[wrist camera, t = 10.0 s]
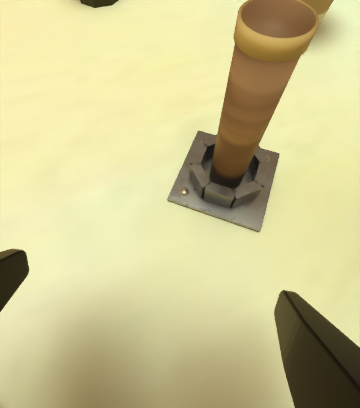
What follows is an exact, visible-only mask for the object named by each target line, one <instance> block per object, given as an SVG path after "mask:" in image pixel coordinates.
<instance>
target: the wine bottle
mask: <svg viewBox="0 0 360 408" xmlns="http://www.w3.org/2000/svg"><path fill="white" fill-rule="evenodd" d="M80 1H81V3H82V4H85V5H88V6H91V7H94V8H96V7H102V6H108V5H113V4H114V3H115V2H117V1H118V0H80Z"/></svg>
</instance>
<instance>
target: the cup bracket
mask: <svg viewBox="0 0 360 408" xmlns="http://www.w3.org/2000/svg"><path fill="white" fill-rule="evenodd" d="M216 139H217V135H212V134H209V133H205V132H202V131H198V132H197V134H196V137H195V139H194V141H193V143H192V146H191V148H190V150H189V152H188V154H187V157H186V159H185V161H184V163H183V166H182V168H181V170H180V172H179V174H178V177H177V179H176V181H175V183H174V185H173V188H172V190H171V192H170V194H169V197H168V199H167V200H168V201H170V202H173V203H176V204H179V205H182V206H185V207H188V208H191V209H193V210H196V211H199V212H202V213H205V214H208V215H211V216H214V217H217V218H220V219H222V220H225V221H228V222H231V223H234V224H237V225H240V226H243V227H246V228H248V229H251V230H254V231H257V232H260V231H261V227H262V223H263V219H264V215H265V210H266V206H267V202H268V198H269V194H270V190H271V186H272V182H273V178H274V174H275V170H276V166H277V162H278V158H279V153H276V152H272V151H269V150H265V149H262V148H260V147H259V145H258V147H257V149H256V151H255V154H254V156H253V158H252V160H251V162H250V164H249V166H248V169H247V171H246V173H245V175H244V177H243V179H242V181H241V183H240V185H239V186H238V187H236V188H235V189H231V188H228V187H225V186H222V185H219V184H216V183H212V182H211V180H210V170H211V165H212V160H213V154H214V149H215V144H216Z"/></svg>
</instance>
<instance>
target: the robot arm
mask: <svg viewBox="0 0 360 408" xmlns="http://www.w3.org/2000/svg"><path fill="white" fill-rule="evenodd" d="M28 272H29V266H28V260H27V255H26V252H25V251H23V250H19V249H9V250H6V251H2V252H0V312H1V310H2V309H3V308H4V306H5V305H6V304H7V302H8V301H9V300H10V298H11V297H12V296H13V294H14V293H15V292H16V290H17V289H18V287H19V286H20V285H21V283H22V282H23V281H24V279H25V278H26V277H27V275H28ZM274 316H275V322H276V327H277V333H278V339H279V344H280V350H281V356H282V361H283V366H284V370H285V374H286V378H287V381H288V385H289V388H290V392H291V396H292V399H293V403H294V406H295V408H360V347H358V346H357V345H356V344H355V343H354V342H353V341H351V340H350V339H349V338H348V337H347V336H346V335H344V334H343V333H342V332H341V331H340V330H339V329H337V328H336V327H335V326H334V325H333V324H332V323H330V322H329V321H328V320H327V319H326V318H325V317H324V316H322V315H321V314H320V313H319V312H318V311H317V310H315V309H314V308H313V307H312V306H311V305H310V304H308V303H307V302H306V301H305V300H304V299H303V298H301V297H300V296H299V295H298V294H297V293H295V292H292V291H285V290H283V291H281V292H280V294H279V297H278V300H277V304H276V307H275V311H274Z"/></svg>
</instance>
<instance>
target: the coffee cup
mask: <svg viewBox="0 0 360 408" xmlns="http://www.w3.org/2000/svg"><path fill="white" fill-rule="evenodd" d="M300 1H303V2H305V3H306V4H308V5H309V6H311V7H312V8H313V9H314V10H315V11H316V13H317V14H318V17H319V23H320V22H321V20H322V19H323V17H324V15H325V14H326V12H327V10H328V9H329V7H330V5H331V4H332V2H333V0H300Z"/></svg>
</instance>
